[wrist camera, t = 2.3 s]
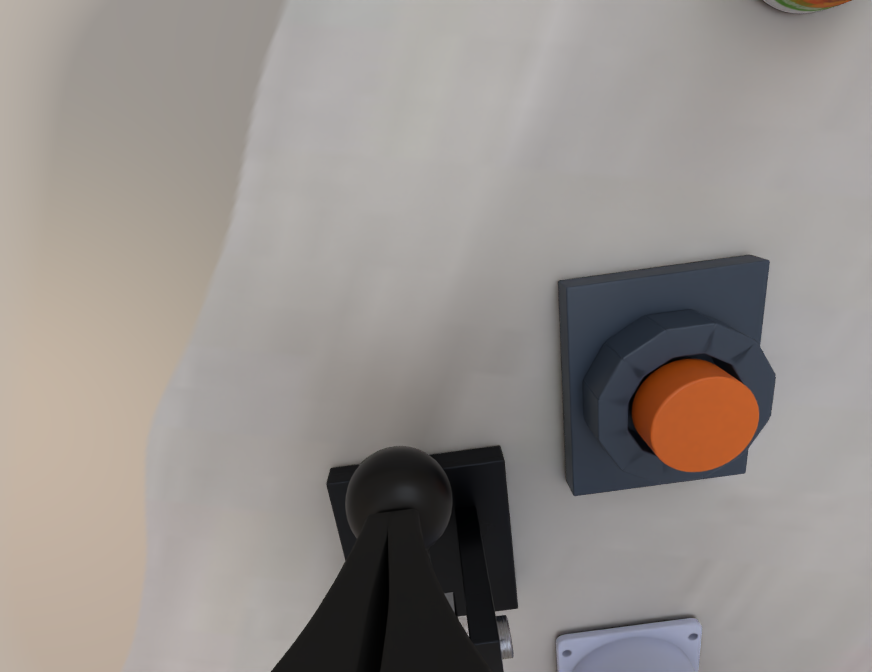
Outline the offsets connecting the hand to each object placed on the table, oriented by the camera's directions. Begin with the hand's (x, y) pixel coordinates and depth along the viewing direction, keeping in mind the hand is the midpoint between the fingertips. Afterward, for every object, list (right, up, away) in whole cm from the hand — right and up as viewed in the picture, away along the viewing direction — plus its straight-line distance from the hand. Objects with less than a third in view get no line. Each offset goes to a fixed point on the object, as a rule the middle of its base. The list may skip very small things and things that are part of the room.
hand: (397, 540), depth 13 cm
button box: (+11, +4, +9) cm, 14 cm away
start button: (+11, +3, +6) cm, 13 cm away
